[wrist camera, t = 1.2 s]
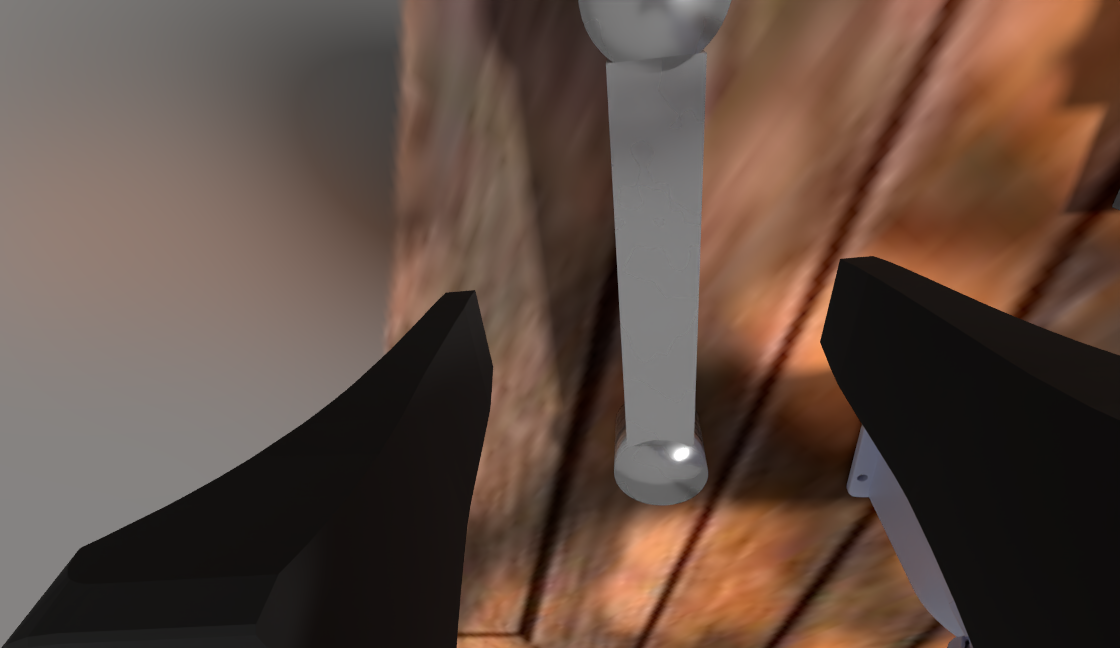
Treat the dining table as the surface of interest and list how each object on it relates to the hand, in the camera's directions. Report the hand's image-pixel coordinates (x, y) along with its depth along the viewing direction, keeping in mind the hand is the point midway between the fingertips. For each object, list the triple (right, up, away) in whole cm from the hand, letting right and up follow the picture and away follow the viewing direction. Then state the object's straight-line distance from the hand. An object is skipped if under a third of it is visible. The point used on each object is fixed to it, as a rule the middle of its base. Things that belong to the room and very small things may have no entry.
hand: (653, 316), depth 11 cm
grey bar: (+2, +3, +12) cm, 13 cm away
